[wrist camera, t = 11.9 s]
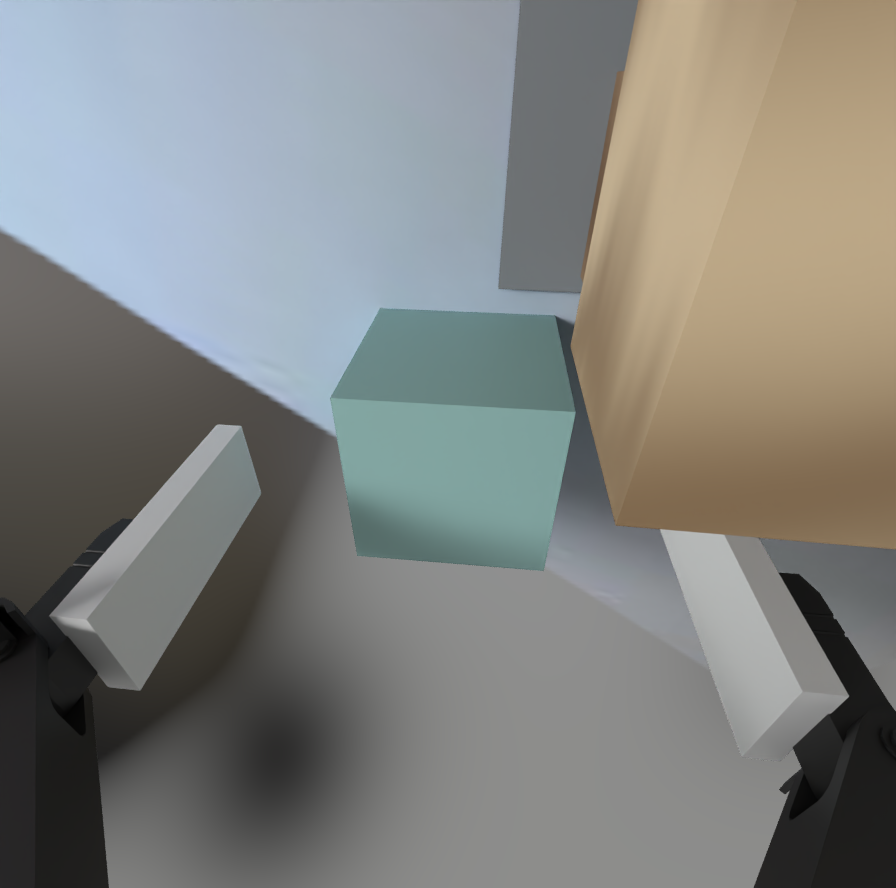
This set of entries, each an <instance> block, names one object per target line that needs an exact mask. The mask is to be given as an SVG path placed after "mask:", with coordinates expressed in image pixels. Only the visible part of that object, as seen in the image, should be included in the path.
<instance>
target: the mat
mask: <svg viewBox="0 0 896 888" xmlns="http://www.w3.org/2000/svg"><path fill="white" fill-rule="evenodd" d="M637 5H638V0H521V1H520V14H519V27H518V40H517V53H516V66H515V79H514V92H513V105H512V118H511V131H510V144H509V157H508V170H507V183H506V196H505V209H504V222H503V235H502V248H501V261H500V274H499V289H515V290H537V291H559V292H581V290H582V285H583V282H582V279H581V277H580V276H581V270H582V265H583V259H584V254H585V248H586V243H587V237H588V231H589V226H590V220H591V215H592V209H593V204H594V198H595V192H596V187H597V181H598V176H599V170H600V165H601V159H602V153H603V148H604V142H605V137H606V131H607V126H608V120H609V114H610V109H611V103H612V98H613V92H614V87H615V81H616V75H617V72H618V71H625V66H626V61H627V56H628V50H629V45H630V40H631V35H632V30H633V25H634V20H635V15H636V10H637Z"/></svg>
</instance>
